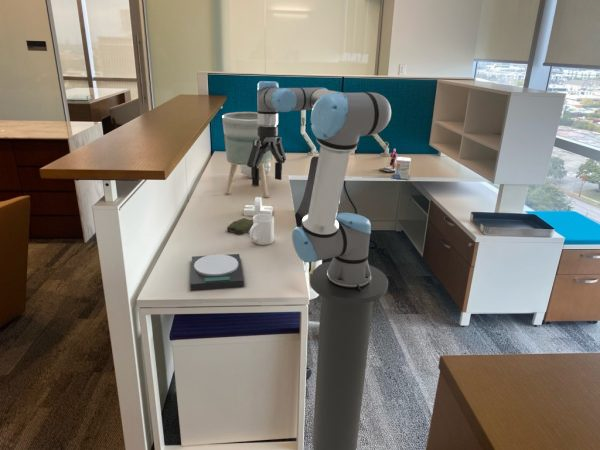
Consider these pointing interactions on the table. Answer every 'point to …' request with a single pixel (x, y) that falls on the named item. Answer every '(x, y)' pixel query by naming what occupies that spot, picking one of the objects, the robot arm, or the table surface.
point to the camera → (247, 170)
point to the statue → (392, 163)
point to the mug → (262, 229)
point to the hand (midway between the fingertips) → (267, 182)
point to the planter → (242, 144)
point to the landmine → (240, 226)
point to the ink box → (402, 167)
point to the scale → (216, 272)
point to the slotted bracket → (257, 208)
